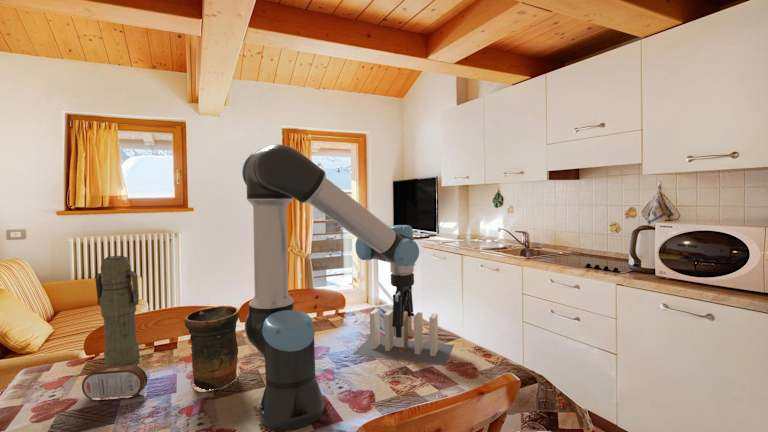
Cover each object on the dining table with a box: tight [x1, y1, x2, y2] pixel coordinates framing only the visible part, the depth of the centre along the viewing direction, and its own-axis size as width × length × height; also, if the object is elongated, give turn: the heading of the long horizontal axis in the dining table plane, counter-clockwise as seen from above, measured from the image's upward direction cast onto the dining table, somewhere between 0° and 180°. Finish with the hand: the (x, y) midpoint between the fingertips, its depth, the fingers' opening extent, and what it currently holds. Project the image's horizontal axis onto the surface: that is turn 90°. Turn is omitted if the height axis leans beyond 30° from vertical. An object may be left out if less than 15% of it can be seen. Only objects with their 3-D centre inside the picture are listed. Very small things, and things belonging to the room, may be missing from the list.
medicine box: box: [377, 305, 395, 334], centre depth 149 cm, size 8×4×9 cm, turn 25°
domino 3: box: [413, 311, 424, 354], centre depth 128 cm, size 2×5×12 cm, turn 161°
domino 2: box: [383, 310, 395, 351], centre depth 131 cm, size 2×5×12 cm, turn 161°
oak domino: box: [399, 311, 409, 353], centre depth 130 cm, size 2×5×12 cm, turn 161°
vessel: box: [183, 305, 240, 391], centre depth 113 cm, size 14×14×20 cm
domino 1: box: [369, 308, 381, 349], centre depth 133 cm, size 2×5×12 cm, turn 161°
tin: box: [81, 365, 148, 400], centre depth 104 cm, size 15×3×8 cm, turn 98°
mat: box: [352, 336, 455, 366], centre depth 130 cm, size 16×30×1 cm, turn 71°
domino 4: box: [428, 313, 439, 356], centre depth 126 cm, size 2×5×12 cm, turn 161°
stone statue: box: [95, 255, 141, 367], centre depth 121 cm, size 9×12×35 cm
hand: (403, 340), depth 130 cm, fingers open, 9 cm apart
